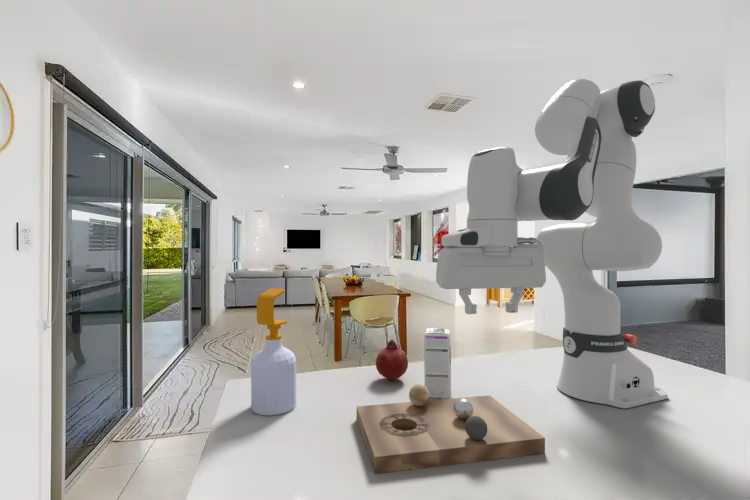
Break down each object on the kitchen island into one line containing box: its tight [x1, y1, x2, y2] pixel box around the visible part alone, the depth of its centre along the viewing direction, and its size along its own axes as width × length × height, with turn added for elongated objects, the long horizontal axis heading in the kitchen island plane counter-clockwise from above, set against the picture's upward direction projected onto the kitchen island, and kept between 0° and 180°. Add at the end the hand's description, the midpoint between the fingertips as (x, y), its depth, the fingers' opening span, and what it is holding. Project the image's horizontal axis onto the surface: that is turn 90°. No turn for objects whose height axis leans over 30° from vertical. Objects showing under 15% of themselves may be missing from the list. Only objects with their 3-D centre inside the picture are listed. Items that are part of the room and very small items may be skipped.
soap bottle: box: [250, 287, 297, 416], centre depth 79 cm, size 9×9×25 cm
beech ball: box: [408, 384, 431, 406], centre depth 74 cm, size 4×4×4 cm
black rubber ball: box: [465, 416, 487, 440], centre depth 61 cm, size 4×4×4 cm
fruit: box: [375, 339, 409, 381], centre depth 95 cm, size 8×8×10 cm
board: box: [356, 394, 546, 475], centre depth 67 cm, size 28×18×2 cm, turn 101°
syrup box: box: [423, 327, 452, 399], centre depth 86 cm, size 6×6×14 cm
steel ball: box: [453, 399, 473, 420], centre depth 68 cm, size 4×4×4 cm
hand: (491, 313), depth 69 cm, fingers open, 7 cm apart
